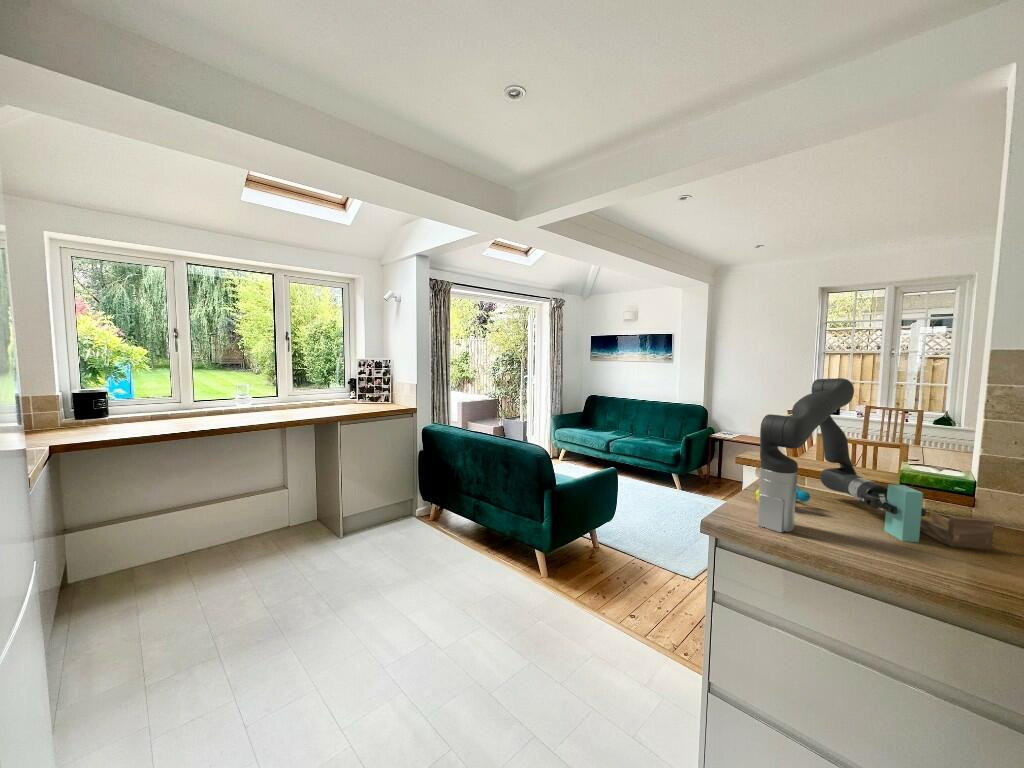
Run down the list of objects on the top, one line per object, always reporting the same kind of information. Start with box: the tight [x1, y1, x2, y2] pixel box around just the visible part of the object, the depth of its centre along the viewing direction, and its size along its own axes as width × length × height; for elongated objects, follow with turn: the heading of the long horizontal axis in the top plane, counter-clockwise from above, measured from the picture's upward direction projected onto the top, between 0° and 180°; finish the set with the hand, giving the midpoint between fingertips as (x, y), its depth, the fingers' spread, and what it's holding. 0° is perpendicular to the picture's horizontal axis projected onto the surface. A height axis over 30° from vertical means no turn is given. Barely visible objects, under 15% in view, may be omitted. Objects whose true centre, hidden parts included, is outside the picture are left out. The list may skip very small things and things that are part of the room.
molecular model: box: [755, 484, 811, 504], centre depth 142 cm, size 15×10×15 cm
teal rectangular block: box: [883, 483, 924, 543], centre depth 117 cm, size 7×4×14 cm, turn 169°
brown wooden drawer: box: [920, 512, 995, 551], centre depth 119 cm, size 18×9×8 cm, turn 169°
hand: (909, 511), depth 115 cm, fingers open, 6 cm apart
